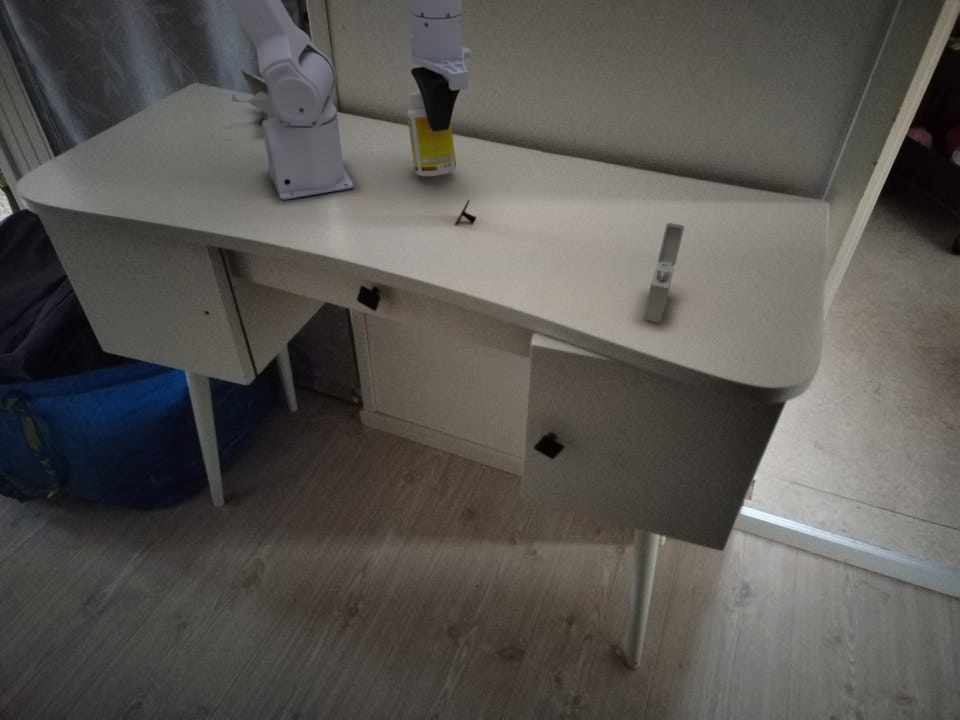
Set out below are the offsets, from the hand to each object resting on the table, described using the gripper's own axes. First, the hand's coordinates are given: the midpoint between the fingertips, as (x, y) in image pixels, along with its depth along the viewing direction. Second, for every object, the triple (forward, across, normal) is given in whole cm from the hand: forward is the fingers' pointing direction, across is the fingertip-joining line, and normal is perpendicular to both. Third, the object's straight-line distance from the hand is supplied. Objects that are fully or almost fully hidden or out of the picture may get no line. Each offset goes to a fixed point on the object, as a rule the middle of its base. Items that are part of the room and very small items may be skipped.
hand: (439, 128), depth 89 cm
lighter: (+8, -33, -12) cm, 36 cm away
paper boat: (+8, +30, +18) cm, 36 cm away
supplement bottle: (+7, +2, 0) cm, 7 cm away
